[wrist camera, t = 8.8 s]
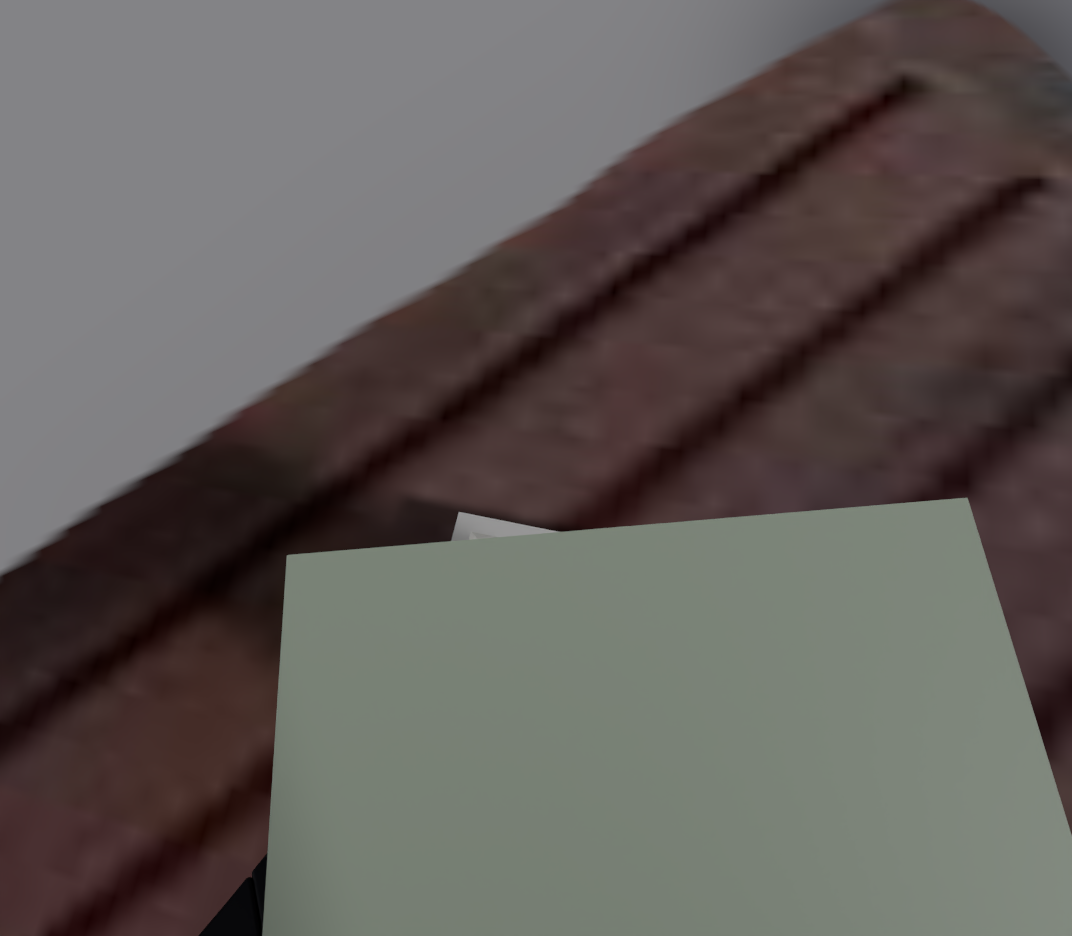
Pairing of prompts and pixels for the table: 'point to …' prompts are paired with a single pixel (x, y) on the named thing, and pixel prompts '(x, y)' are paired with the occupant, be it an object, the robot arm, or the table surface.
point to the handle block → (663, 736)
